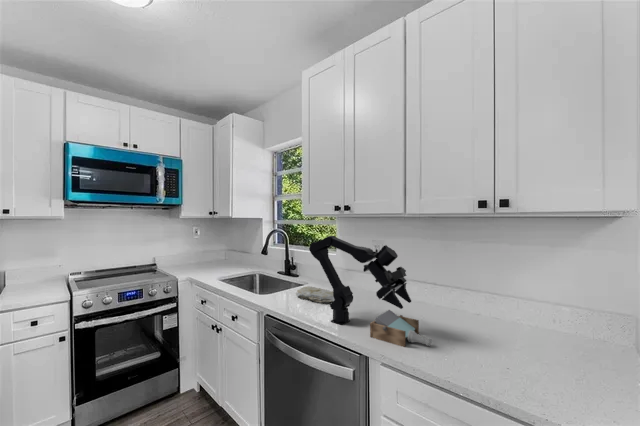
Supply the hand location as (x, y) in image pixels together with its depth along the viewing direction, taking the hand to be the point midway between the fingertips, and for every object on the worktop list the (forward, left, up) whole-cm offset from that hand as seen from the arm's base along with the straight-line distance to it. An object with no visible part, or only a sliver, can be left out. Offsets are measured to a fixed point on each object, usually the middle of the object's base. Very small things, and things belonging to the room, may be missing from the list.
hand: (406, 305), depth 113 cm
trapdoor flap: (-5, 0, -10) cm, 11 cm away
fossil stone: (-60, +20, -14) cm, 64 cm away
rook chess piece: (+1, -2, -11) cm, 11 cm away
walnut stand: (-5, 0, -13) cm, 14 cm away
